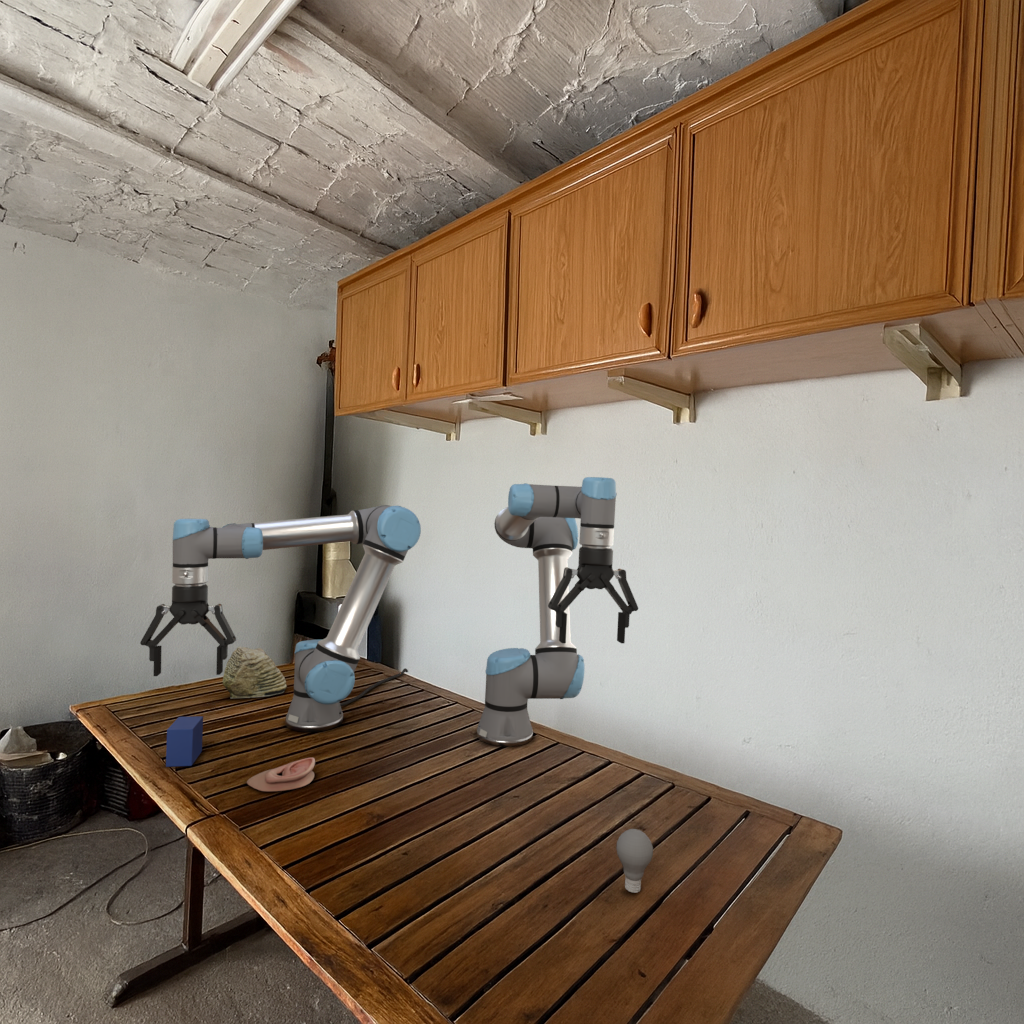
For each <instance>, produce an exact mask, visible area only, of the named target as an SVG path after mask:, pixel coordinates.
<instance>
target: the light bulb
mask: <svg viewBox="0 0 1024 1024" xmlns="http://www.w3.org/2000/svg"><path fill="white" fill-rule="evenodd" d="M615 849H616V854H617V857H618V859H619V861H620V863H621V865H622V867H623V873H624V874H623V875H624V876H625V878H624V888H625V890H627V891H628V892H630V893H634V894H635V893H639V892H640V891H641V889H642V887H641V886H642V879H643V877H644V875H645V871H646V868H647V867H648V866H649V864H650V863H651V861H652V859H653V855H654V847H653V843H652V841H651V838H649V836H648V835H647V834H646V833H645V832H643V831H642V830H641V829H636V828H629V829H627V830H625V831H623V832H622V833H621V834H620V835H619V837H618V839H617V841H616V847H615Z"/></svg>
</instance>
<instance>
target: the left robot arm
mask: <svg viewBox="0 0 1024 1024" xmlns="http://www.w3.org/2000/svg"><path fill="white" fill-rule="evenodd" d="M421 527H422V526H421V523H420V520H419V518H418V517H417V515H416V514H415V513H414V512H413V511H412V510H410V509H409V508H407V507H404V506H401V505H389V504H384V505H383V504H382V505H378V506H373V507H369V508H363V509H356V510H351V511H349V512H348V513H347V514H337V515H327V516H315V517H305V518H292V519H279V520H270V521H257V522H245V523H236V522H235V523H227V524H226V525H223V526H221V527H215V526H214V527H213V526H210V521H209V520H208V519H207V518H178V519H176V520H175V521H174V523H173V529H172V567H171V569H172V570H171V571H172V572H171V575H172V576H171V578H172V581H171V582H172V584H174V585H173V586H171V605H166V604H164V603H161V604H159V605H157V606H156V608H155V615H154V616H153V619H152V620H151V622H150V623H149V626H148V627H147V629H146V630H145V633H144V635H143V637H142V638H141V640H140V643H139V644H140V645H141V646H146V647H148V649H149V650H148V651H149V656H148V658H149V659H148V660H149V662H153V677H158V676H159V675H161V674H162V645H159V644H160V643H161V642H162V641H163V639H164V638H165V637H166V636H167V635H168V634H169V633H170V632H171V631H172V630H173V629H174V628H175V627H176V625H178V624H180V625H181V626H182V625H188V624H189V625H198V624H199V625H200V626H201V627H203V628H204V629H205V630H206V632H208V634H209V635H210V636H211V637H212V638H213V639H214V640H215V641H216V643H218V646H217V647H216V670H215V671H216V674H215V675H216V676H219V675H220V676H221V674H222V673H224V661H225V660H227V658H228V656H229V655H228V654H229V653H228V650H229V649H228V648H229V647H228V646H229V645H233V644H234V643H235V642H236V641H237V637H236V635H235V633H234V631H233V630H232V627H231V626H230V624H229V622H228V620H227V618H226V616H225V614H224V610H223V604H221V603H217V604H214V605H213V604H212V605H209V601H208V600H209V586H208V585H207V583H208V582H209V559H210V560H212V559H213V560H216V559H245V560H248V559H255V558H257V559H258V558H260V557H262V554H263V551H267V550H268V551H269V550H277V549H287V548H289V549H290V548H297V547H306V546H307V547H308V546H318V545H326V544H327V545H328V544H336V543H337V544H338V543H347V542H351V543H352V544H354V545H361V544H362V549H363V550H364V555H363V557H362V559H361V561H360V563H359V566H358V568H357V569H356V572H355V574H354V577H353V578H352V580H351V583H350V585H349V588H348V589H347V592H346V595H345V596H344V598H343V601H342V603H341V605H340V607H339V610H338V612H337V614H336V616H335V618H334V620H333V623H332V625H331V626H330V629H329V631H328V634H327V636H326V637H325V638H323V639H307V640H302V641H299V642H297V643H296V644H295V648H294V649H295V650H294V672H293V673H294V674H293V675H294V676H293V678H294V679H293V695H292V696H293V697H292V699H291V702H290V704H289V708H288V711H287V713H286V715H285V726H286V728H287V729H289V730H291V731H294V732H295V731H296V732H301V733H316V732H325V731H329V730H332V729H335V728H337V727H339V726H340V725H342V723H343V722H344V713H343V709H342V707H344V706H347V705H349V704H352V703H353V702H355V701H357V700H359V699H360V698H362V697H363V696H365V695H366V693H368V692H370V691H371V690H373V689H374V688H376V687H378V686H380V685H381V684H384V683H386V682H389V681H391V680H394V679H396V678H398V677H402V675H404V674H405V673H409V669H408V668H403V669H402V671H400V672H399V673H397V674H394V675H391V676H389V677H386V678H384V679H381V680H379V681H377V682H376V683H374V684H372V685H370V686H369V687H367V688H366V689H364V691H362V692H361V693H359V694H358V695H357V696H354V697H352V698H351V699H348V700H346V701H344V700H345V699H346V698H347V697H348V696H349V695H350V694H351V693H352V691H353V689H354V687H355V683H356V677H355V671H356V669H357V667H358V663H359V662H360V660H361V656H360V653H359V648H360V645H361V643H362V642H363V641H362V640H363V639H364V636H365V634H366V632H367V629H368V628H369V625H370V623H371V621H372V618H373V617H374V614H375V611H376V609H377V607H378V605H379V603H380V600H381V598H382V596H383V594H384V591H385V589H386V587H387V585H388V582H389V580H390V578H391V576H392V574H393V571H394V569H395V567H396V566H398V565H400V564H401V563H403V562H404V560H405V559H406V556H407V554H408V551H409V550H412V549H413V548H414V547H416V545H417V543H418V542H419V540H420V537H421V532H422V528H421ZM168 612H169V613H170V614H171V616H173V618H171V620H170V621H169V622H168V623H167V624H166V625H165V626H164V627H163V629H162V630H160V632H159V633H158V634H157V635H156V636H155V637H154V638H153V636H154V634H155V633H156V631H157V629H158V627H159V625H160V624H161V622H162V620H163V618H164V616H165V615H167V614H168ZM209 612H211V614H212V615H214V617H215V620H216V621H217V623H218V625H219V627H220V629H221V630H222V632H223V634H222V632H221V631H220V630H219V629H218V628H217V627H216V626H215V624H214V623H213V622H212V621H211V619H210V618H209V617H208V616H207V614H208V613H209ZM152 638H153V639H152ZM400 673H401V674H400ZM342 701H343V702H342Z"/></svg>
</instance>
